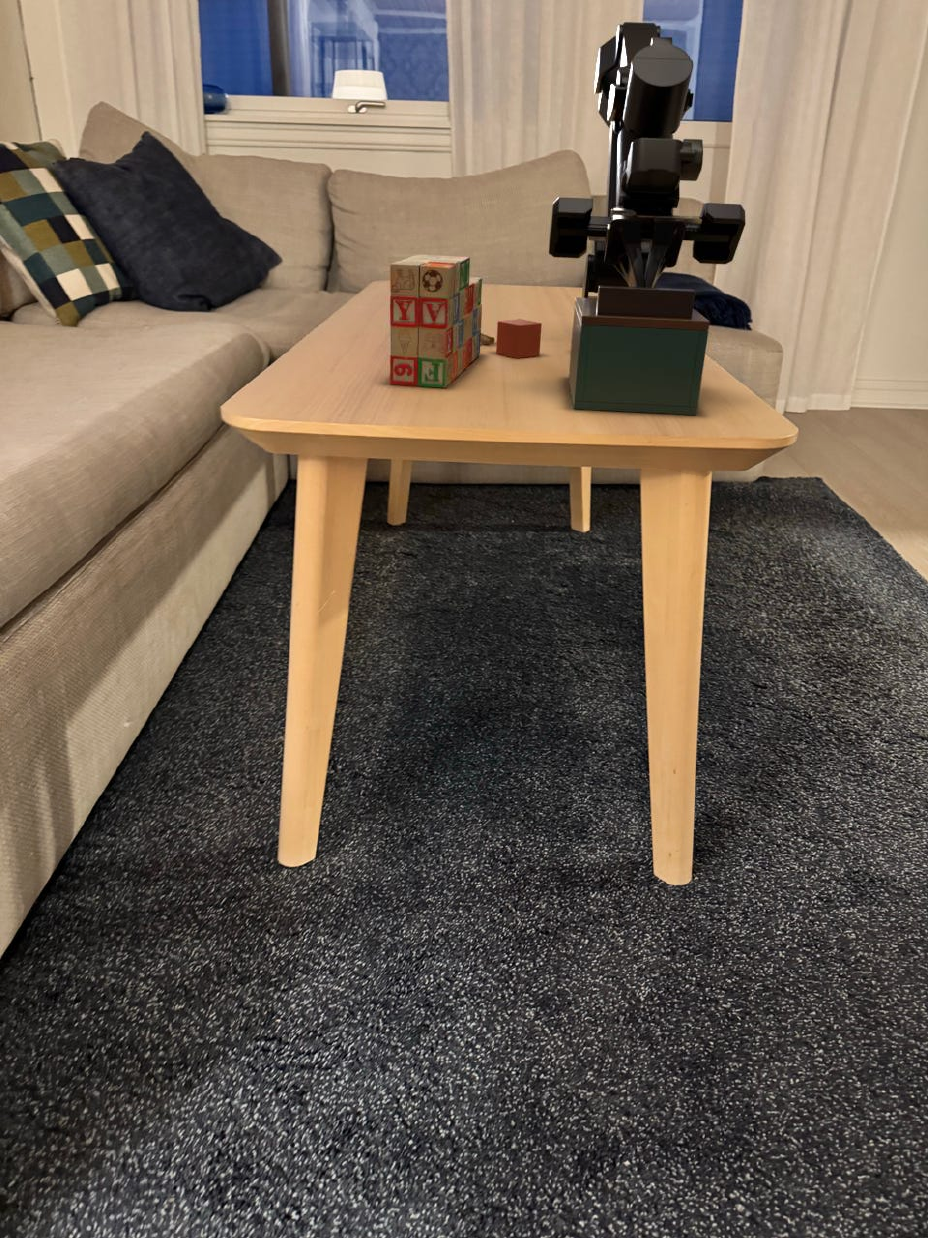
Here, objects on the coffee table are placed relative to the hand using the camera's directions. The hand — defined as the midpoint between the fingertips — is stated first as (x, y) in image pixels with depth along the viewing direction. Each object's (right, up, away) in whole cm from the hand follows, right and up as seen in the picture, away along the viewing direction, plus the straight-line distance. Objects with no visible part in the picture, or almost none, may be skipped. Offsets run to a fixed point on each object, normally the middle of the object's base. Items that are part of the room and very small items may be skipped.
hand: (643, 299), depth 88 cm
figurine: (-20, +8, +38) cm, 43 cm away
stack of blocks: (-20, -2, +18) cm, 28 cm away
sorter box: (0, -7, +8) cm, 11 cm away
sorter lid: (0, 0, +5) cm, 5 cm away
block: (-10, +3, +29) cm, 31 cm away
